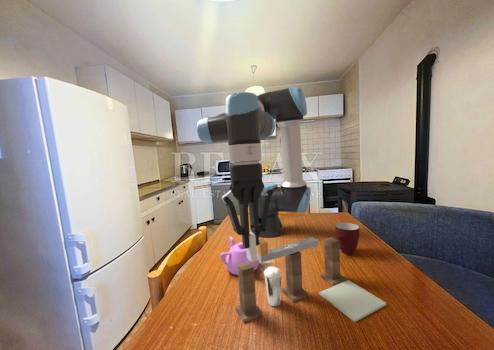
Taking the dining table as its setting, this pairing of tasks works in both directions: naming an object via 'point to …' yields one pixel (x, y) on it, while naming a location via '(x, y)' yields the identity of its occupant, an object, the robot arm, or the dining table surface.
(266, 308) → the dining table surface
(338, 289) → the mat
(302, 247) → the bar
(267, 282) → the milkshake
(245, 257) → the teapot
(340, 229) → the mug
